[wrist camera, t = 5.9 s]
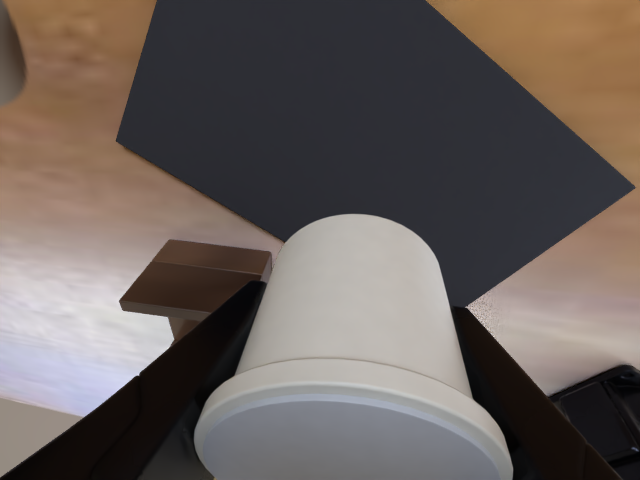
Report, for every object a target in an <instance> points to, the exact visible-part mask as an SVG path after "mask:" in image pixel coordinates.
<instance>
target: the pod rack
mask: <svg viewBox="0 0 640 480" xmlns="http://www.w3.org/2000/svg"><path fill="white" fill-rule="evenodd" d="M270 275H271V252H268V251H260V250H252V249H243V248H235V247H227V246H219V245H211V244H203V243H195V242H187V241H178V240H168V241H167V243H166V244H165V245H164V246H163V248H162V249H161V250H160V251H159V252H158V254H157V255H156V256H155V257H154V259H153V260H152V262H150V264H149V265H148V266H147V267H146V268H145V270H144V271H143V272H142V273H141V275H140V276H139V277H138V278H137V279H136V281H135V282H134V283H133V284H132V286H131V287H130V288H129V289H128V290H127V292H126V293H125V294H124V295H123V297H122V298H121V299H120V300H119V303H120V305H121V308H122V310H123V311H128V312H136V313H143V314H150V315H157V316H165V317H168V319H169V322H170V326H171V329H172V333H173V336H174V341H173V342H172V344H171V346H172V345H174V344H175V343H176V342H177V341H178V340H180V339H181V338H182V337H183V336H184V335H186V334H187V333H188V332H189V331H190V330H192V329H193V328H194V327H195V326H196V325H197V324H199V323H200V322H201V321H202V320H203V319H205V318H206V317H207V316H208V315H209V314H211V313H212V312H213V311H214V310H215V309H217V308H218V307H219V306H220V305H221V304H222V303H224V302H225V301H226V300H227V299H228V298H230V297H231V296H232V295H233V294H234V293H236V292H237V291H238V290H239V289H240V288H242V287H243V286H244V285H245V284H246V283H248V282H249V281H251V280H258V281H265V282H266V283H267V284H268V281H269V278H270ZM171 346H170V347H171Z"/></svg>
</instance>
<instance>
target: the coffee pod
mask: <svg viewBox="0 0 640 480" xmlns="http://www.w3.org/2000/svg"><path fill="white" fill-rule="evenodd" d="M194 444H195V450H196V452H197V454H198V457H199V459H200V460H201V462H202V463H203V465H204V466H205V468H206V469H207V470H208V471H209V472H210V473H211V474H212V475H213V476H214V477H215V478H216V479H217V480H512V479H513V466H512V462H511V458H510V454H509V451H508V448H507V444H506V441H505V438H504V435H503V433H502V431H501V429H500V428H499V426H498V424H497V423H496V421H495V420H494V419H493V418H492V417H491V416H490V414H489V413H488V412H487V411H486V410H485V409H484V408H483V407H481V406H480V405H479V404H478V403H477V402H475V401H474V400H473V397H472V393H471V389H470V385H469V381H468V377H467V374H466V370H465V366H464V362H463V358H462V354H461V350H460V346H459V342H458V338H457V334H456V330H455V326H454V322H453V318H452V314H451V310H450V306H449V302H448V298H447V294H446V290H445V286H444V282H443V278H442V274H441V270H440V267H439V263H438V261H437V259H436V257H435V255H434V253H433V252H432V250H431V249H430V247H429V246H428V245H427V244H426V243H425V242H424V241H423V240H422V239H421V238H420V237H419V236H418V235H416V234H415V233H414V232H412V231H411V230H409V229H408V228H406V227H404V226H402V225H401V224H398V223H396V222H394V221H391V220H388V219H385V218H381V217H378V216H372V215H366V214H342V215H336V216H330V217H327V218H323V219H320V220H317V221H315V222H313V223H311V224H308V225H307V226H305V227H304V228H302V229H300V230H299V231H297V232H296V233H295V234H294V235H292V236H291V237H290V238H289V239H288V241H287V242H286V243H285V244H284V245H283V247H282V248H281V250H280V252H279V254H278V256H277V258H276V261H275V264H274V267H273V270H272V272H271V275H270V278H269V281H268V284H267V286H266V289H265V292H264V295H263V297H262V300H261V303H260V306H259V309H258V311H257V314H256V317H255V320H254V323H253V325H252V328H251V331H250V334H249V337H248V339H247V342H246V345H245V348H244V351H243V353H242V356H241V359H240V362H239V365H238V367H237V370H236V373H235V376H234V377H232V378H230V379H229V380H227V381H225V382H224V383H223V384H222V385H220V386H219V387H218V388H217V389H216V390H215V391H214V392H213V393H212V394H211V395H210V397H209V398H208V400H207V401H206V403H205V405H204V408H203V410H202V413H201V415H200V418H199V420H198V423H197V425H196V428H195V432H194Z"/></svg>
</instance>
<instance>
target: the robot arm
mask: <svg viewBox="0 0 640 480" xmlns="http://www.w3.org/2000/svg"><path fill="white" fill-rule="evenodd" d="M266 286H267V283H266V282H265V281H258V280H251V281H249V282H248V283H246V284H245V285H244V286H243V287H242V288H240V289H239V290H238V291H237V292H236V293H234V294H233V295H232V296H231V297H230V298H228V299H227V300H226V301H225V302H224V303H222V304H221V305H220V306H219V307H218V308H217V309H215V310H214V311H213V312H212V313H211V314H209V315H208V316H207V317H206V318H205V319H203V320H202V321H201V322H200V323H199V324H197V325H196V326H195V327H194V328H193V329H192V330H190V331H189V332H188V333H187V334H186V335H184V336H183V337H182V338H181V339H180V340H178V341H177V342H176V343H175V344H174V345H172V346H171V347H170V348H169V349H168V350H166V351H165V352H164V353H163V354H162V355H161V356H159V357H158V358H157V359H156V360H155V361H153V362H152V363H151V364H150V365H149V366H147V367H146V368H145V369H144V370H143V371H141V372H140V374H139V376H140V377H139V376H135V377H134V378H133V379H132V380H131V381H129V382H128V383H127V384H126V385H125V386H123V387H122V388H121V389H120V390H118V391H117V392H116V393H115V394H113V395H112V396H111V397H110V398H109V399H107V400H106V401H105V402H104V403H102V404H101V405H100V406H99V407H97V408H96V409H95V410H93V411H92V412H91V413H89V414H88V415H87V416H85V417H84V418H83V419H81V420H80V421H78V422H77V423H76V424H75V425H73V426H72V427H70V428H69V429H68V430H66V431H65V432H63V433H62V434H61V435H59V436H58V437H57V438H55V439H54V440H52V441H51V442H49V443H48V444H47V445H45V446H44V447H42V448H41V449H40V450H39V451H37V452H35V453H34V454H33V455H31V456H30V457H28V458H27V459H26V460H24V461H23V462H21V463H20V464H19V465H17V466H16V467H14V468H13V469H11V470H10V471H9V472H7V473H6V474H5V475H3V476H2V477H0V480H214V478H215V477H214V476H213V475H212V474H211V473H210V472H209V471H208V470H207V469H206V468H205V466H204V465H203V463H202V462H201V460H200V459H199V457H198V454H197V452H196V450H195V444H194V432H195V428H196V425H197V423H198V420H199V418H200V415H201V413H202V410H203V408H204V405H205V403H206V401H207V400H208V398H209V397H210V395H211V394H212V393H213V392H214V391H215V390H216V389H217V388H218V387H219V386H220V385H222V384H223V383H224V382H225V381H227V380H229V379H230V378H232V377H234V376H235V373H236V370H237V367H238V365H239V362H240V359H241V356H242V353H243V351H244V348H245V345H246V342H247V339H248V337H249V334H250V331H251V328H252V325H253V323H254V320H255V317H256V314H257V311H258V309H259V306H260V303H261V300H262V297H263V295H264V292H265V289H266ZM450 310H451V314H452V318H453V322H454V326H455V330H456V334H457V338H458V342H459V346H460V350H461V354H462V358H463V362H464V366H465V370H466V374H467V377H468V381H469V385H470V389H471V393H472V397H473V400H474V401H475V402H477V403H478V404H479V405H480V406H481V407H483V408H484V409H485V410H486V411H487V412H488V413H489V414H490V416H491V417H492V418H493V419H494V420H495V421H496V423H497V424H498V426H499V428H500V429H501V431H502V433H503V435H504V438H505V441H506V444H507V448H508V451H509V454H510V458H511V462H512V466H513V479H512V480H640V371H639V370H637V369H636V368H634V367H633V366H631V365H624V366H620V367H618V368H616V369H613V370H611V371H609V372H607V373H604V374H602V375H600V376H597V377H595V378H593V379H591V380H588V381H586V382H584V383H582V384H579V385H577V386H575V387H573V388H570V389H568V390H566V391H564V392H561V393H559V394H557V395H555V396H552V397H550V398H548V397H547V396H546V395H545V394H544V393H543V391H542V390H541V389H540V388H539V387H538V386H537V385H536V384H535V383H534V381H533V380H532V379H531V378H530V377H529V376H528V375H527V374H526V373H525V371H524V370H523V369H522V368H521V367H520V366H519V365H518V364H517V363H516V362H515V360H514V359H513V358H512V357H511V356H510V355H509V354H508V353H507V352H506V350H505V349H504V348H503V347H502V346H501V345H500V344H499V343H498V342H497V340H496V339H495V338H494V337H493V336H492V335H491V334H490V333H489V332H488V331H487V329H486V328H485V327H484V326H483V325H482V324H481V323H480V322H479V321H478V319H477V318H476V317H475V316H474V315H473V314H472V313H471V312H470V311H469V310H468V309H467V308H465V307H459V306H450Z"/></svg>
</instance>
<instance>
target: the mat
mask: <svg viewBox="0 0 640 480" xmlns="http://www.w3.org/2000/svg"><path fill="white" fill-rule="evenodd" d="M116 142H118V143H119V144H121V145H123V146H124V147H126V148H128V149H130V150H131V151H133V152H135V153H136V154H138V155H140V156H141V157H143V158H145V159H146V160H148V161H150V162H151V163H153V164H155V165H156V166H158V167H160V168H162V169H163V170H165V171H167V172H168V173H170V174H172V175H173V176H175V177H177V178H178V179H180V180H182V181H183V182H185V183H187V184H188V185H190V186H192V187H193V188H195V189H197V190H199V191H200V192H202V193H204V194H205V195H207V196H209V197H210V198H212V199H214V200H215V201H217V202H219V203H220V204H222V205H224V206H225V207H227V208H229V209H231V210H232V211H234V212H236V213H237V214H239V215H241V216H242V217H244V218H246V219H247V220H249V221H251V222H252V223H254V224H256V225H257V226H259V227H261V228H262V229H264V230H266V231H268V232H269V233H271V234H273V235H274V236H276V237H278V238H279V239H281V240H283V241H284V242H287V241H288V239H289V238H290V237H291V236H292V235H294V234H295V233H296V232H297V231H299V230H300V229H302V228H304V227H305V226H307V225H308V224H311V223H313V222H315V221H317V220H320V219H323V218H327V217H330V216H336V215H342V214H366V215H372V216H378V217H381V218H385V219H388V220H391V221H394V222H396V223H398V224H401V225H402V226H404V227H406V228H408V229H409V230H411V231H412V232H414V233H415V234H416V235H418V236H419V237H420V238H421V239H422V240H423V241H424V242H425V243H426V244H427V245H428V246H429V247H430V249H431V250H432V252H433V253H434V255H435V257H436V259H437V261H438V263H439V267H440V270H441V274H442V278H443V282H444V286H445V290H446V294H447V298H448V302H449V306H459V307H466V306H467V305H469V304H470V303H472V302H473V301H475V300H476V299H477V298H479V297H480V296H482V295H483V294H485V293H486V292H487V291H489V290H490V289H492V288H493V287H495V286H496V285H497V284H499V283H500V282H502V281H503V280H505V279H506V278H508V277H509V276H510V275H512V274H513V273H515V272H516V271H518V270H519V269H520V268H522V267H523V266H525V265H526V264H528V263H529V262H530V261H532V260H533V259H535V258H536V257H538V256H539V255H540V254H542V253H543V252H545V251H546V250H548V249H549V248H550V247H552V246H553V245H555V244H556V243H558V242H559V241H560V240H562V239H563V238H565V237H566V236H568V235H569V234H570V233H572V232H573V231H575V230H576V229H578V228H579V227H580V226H582V225H583V224H585V223H586V222H588V221H589V220H591V219H592V218H593V217H595V216H596V215H598V214H599V213H601V212H602V211H603V210H605V209H606V208H608V207H609V206H611V205H612V204H613V203H615V202H616V201H618V200H619V199H621V198H622V197H623V196H625V195H626V194H628V193H629V192H631V191H632V190H633V189H635V186H634V185H633V184H632V183H630V182H629V181H628V180H627V179H626V178H625V177H624V176H623V175H621V174H620V173H619V172H618V171H617V170H616V169H615V168H614V167H612V166H611V165H610V164H609V163H608V162H607V161H606V160H605V159H603V158H602V157H601V156H600V155H599V154H598V153H597V152H596V151H594V150H593V149H592V148H591V147H590V146H589V145H588V144H587V143H585V142H584V141H583V140H582V139H581V138H580V137H579V136H578V135H576V134H575V133H574V132H573V131H572V130H571V129H570V128H569V127H567V126H566V125H565V124H564V123H563V122H562V121H561V120H559V119H558V118H557V117H556V116H555V115H554V114H553V113H552V112H550V111H549V110H548V109H547V108H546V107H545V106H544V105H543V104H541V103H540V102H539V101H538V100H537V99H536V98H535V97H534V96H532V95H531V94H530V93H529V92H528V91H527V90H526V89H525V88H523V87H522V86H521V85H520V84H519V83H518V82H517V81H516V80H514V79H513V78H512V77H511V76H510V75H509V74H508V73H507V72H505V71H504V70H503V69H502V68H501V67H500V66H499V65H498V64H496V63H495V62H494V61H493V60H492V59H491V58H490V57H488V56H487V55H486V54H485V53H484V52H483V51H482V50H481V49H479V48H478V47H477V46H476V45H475V44H474V43H473V42H472V41H470V40H469V39H468V38H467V37H466V36H465V35H464V34H463V33H461V32H460V31H459V30H458V29H457V28H456V27H455V26H454V25H452V24H451V23H450V22H449V21H448V20H447V19H446V18H445V17H443V16H442V15H441V14H440V13H439V12H438V11H437V10H436V9H434V8H433V7H432V6H431V5H430V4H429V3H428V2H427V1H425V0H157V2H156V6H155V9H154V12H153V16H152V19H151V23H150V26H149V30H148V33H147V36H146V40H145V43H144V47H143V50H142V53H141V57H140V60H139V64H138V67H137V70H136V74H135V77H134V81H133V84H132V87H131V91H130V94H129V98H128V101H127V104H126V108H125V111H124V115H123V118H122V121H121V125H120V128H119V132H118V135H117V138H116Z"/></svg>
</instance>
